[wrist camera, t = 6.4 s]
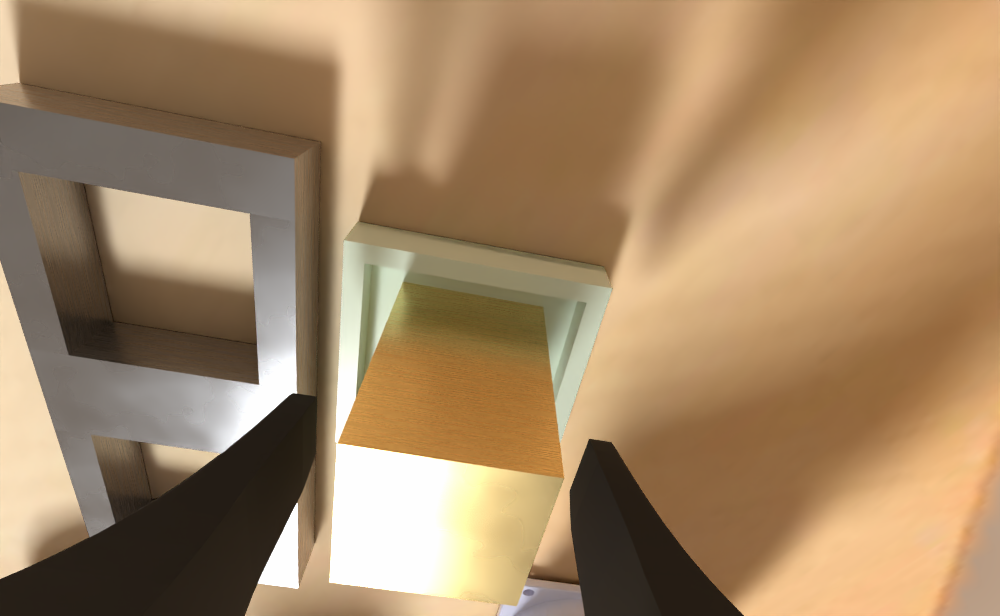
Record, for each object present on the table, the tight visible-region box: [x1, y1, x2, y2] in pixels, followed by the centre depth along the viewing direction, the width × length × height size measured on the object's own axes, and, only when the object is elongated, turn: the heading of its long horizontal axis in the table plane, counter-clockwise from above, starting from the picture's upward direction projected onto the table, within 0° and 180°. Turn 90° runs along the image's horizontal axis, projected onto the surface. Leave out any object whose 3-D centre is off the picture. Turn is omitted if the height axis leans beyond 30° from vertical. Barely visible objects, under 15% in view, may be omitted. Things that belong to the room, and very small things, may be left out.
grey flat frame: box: [0, 83, 321, 588], centre depth 17 cm, size 8×18×2 cm, turn 169°
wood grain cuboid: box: [330, 282, 564, 606], centre depth 14 cm, size 4×4×7 cm
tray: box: [335, 222, 613, 443], centre depth 17 cm, size 8×8×2 cm
